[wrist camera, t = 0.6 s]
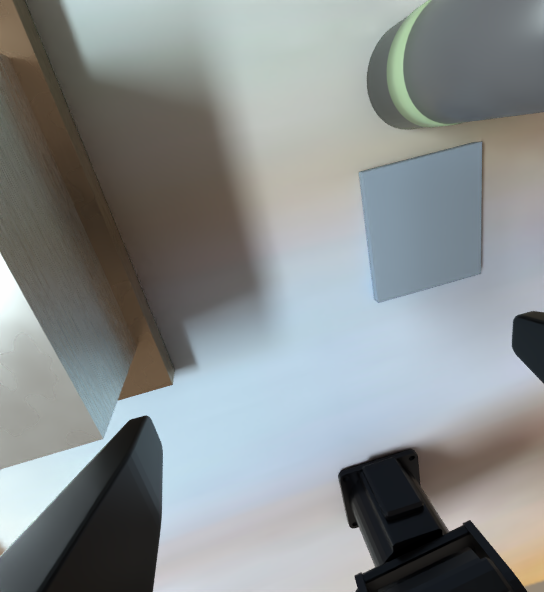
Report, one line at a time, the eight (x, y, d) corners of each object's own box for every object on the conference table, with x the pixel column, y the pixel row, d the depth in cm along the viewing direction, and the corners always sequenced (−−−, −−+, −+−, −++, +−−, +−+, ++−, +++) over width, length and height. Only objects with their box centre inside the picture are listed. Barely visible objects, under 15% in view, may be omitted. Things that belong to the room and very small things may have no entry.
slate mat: (474, 270, 23) (480, 273, 23) (374, 299, 23) (378, 302, 22) (474, 141, 20) (482, 141, 20) (358, 171, 20) (363, 172, 19)
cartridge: (458, 118, 20) (721, 79, 10) (371, 140, 19) (549, 124, 9) (457, 6, 18) (787, -191, 8) (360, 29, 17) (570, -147, 7)
